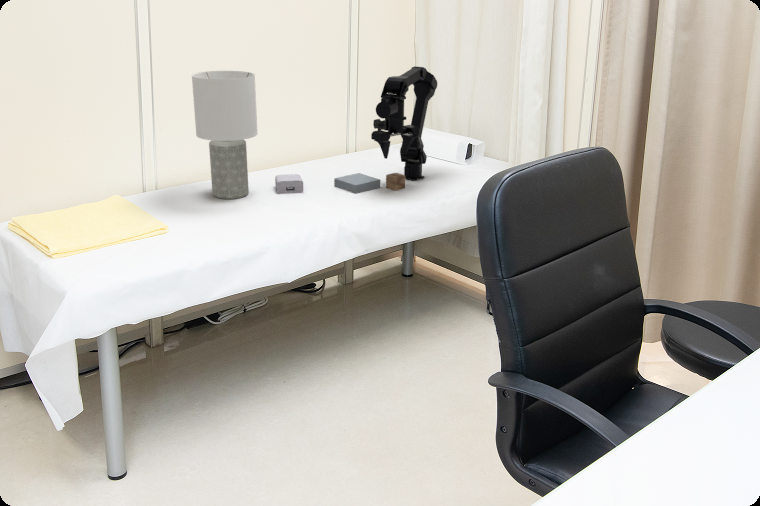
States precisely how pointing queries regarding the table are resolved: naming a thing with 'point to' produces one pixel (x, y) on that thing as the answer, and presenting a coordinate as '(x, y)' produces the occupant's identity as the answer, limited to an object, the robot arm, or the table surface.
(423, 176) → the robot arm
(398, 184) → the walnut cube
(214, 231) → the table surface
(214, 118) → the lamp
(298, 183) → the charger
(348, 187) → the grey base
